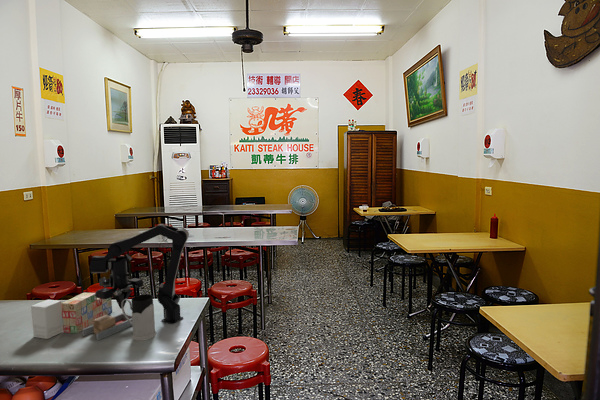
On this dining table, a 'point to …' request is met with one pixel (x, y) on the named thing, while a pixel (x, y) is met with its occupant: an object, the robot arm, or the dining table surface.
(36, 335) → the supplement box
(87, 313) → the stack of blocks
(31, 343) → the dining table surface
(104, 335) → the trap channel
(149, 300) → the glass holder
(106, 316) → the tan cube
